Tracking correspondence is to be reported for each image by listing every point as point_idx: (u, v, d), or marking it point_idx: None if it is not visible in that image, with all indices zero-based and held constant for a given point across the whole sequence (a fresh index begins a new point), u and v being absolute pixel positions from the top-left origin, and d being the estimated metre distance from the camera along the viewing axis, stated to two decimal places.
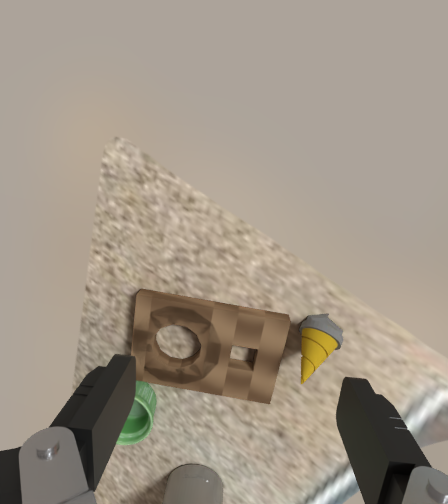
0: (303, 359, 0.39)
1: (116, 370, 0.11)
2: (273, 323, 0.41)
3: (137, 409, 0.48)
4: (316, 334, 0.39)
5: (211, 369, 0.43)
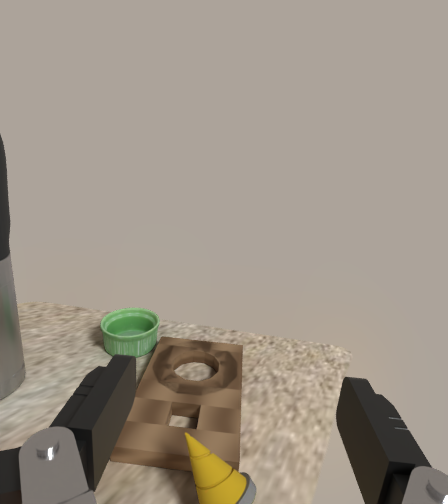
0: None
1: (116, 370, 0.11)
2: (234, 443, 0.33)
3: None
4: (240, 475, 0.28)
5: (169, 388, 0.40)
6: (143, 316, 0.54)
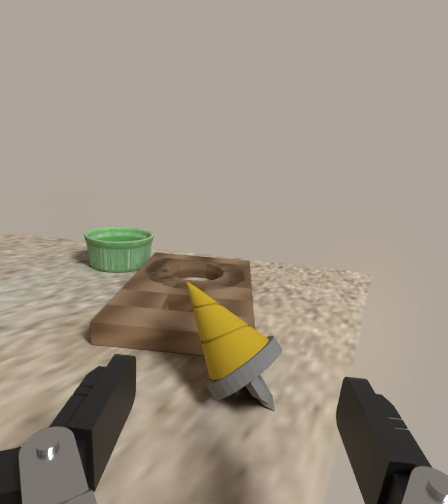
0: None
1: (116, 370, 0.11)
2: (247, 323, 0.27)
3: None
4: (260, 333, 0.21)
5: (165, 285, 0.33)
6: (134, 235, 0.47)
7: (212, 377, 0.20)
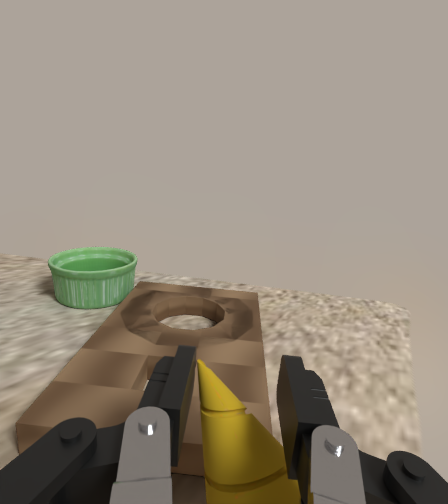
0: None
1: (185, 358, 0.12)
2: (259, 418, 0.18)
3: None
4: None
5: (144, 338, 0.24)
6: (115, 257, 0.39)
7: None
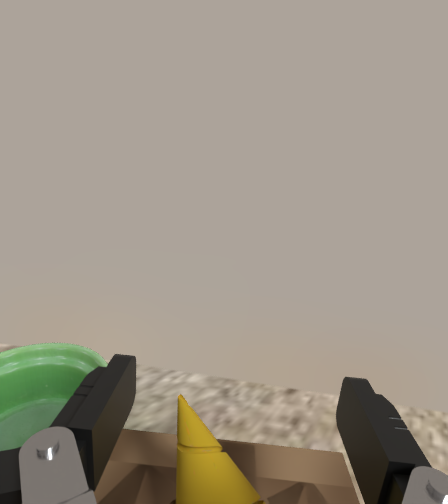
0: None
1: (117, 370, 0.11)
2: None
3: None
4: None
5: None
6: (74, 364, 0.22)
7: None
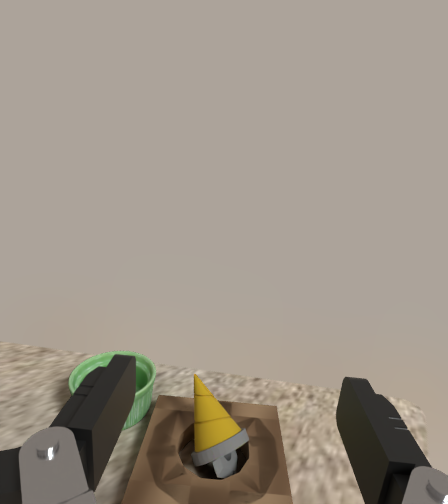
0: None
1: (116, 370, 0.11)
2: None
3: None
4: (236, 425, 0.29)
5: (174, 499, 0.24)
6: None
7: None
